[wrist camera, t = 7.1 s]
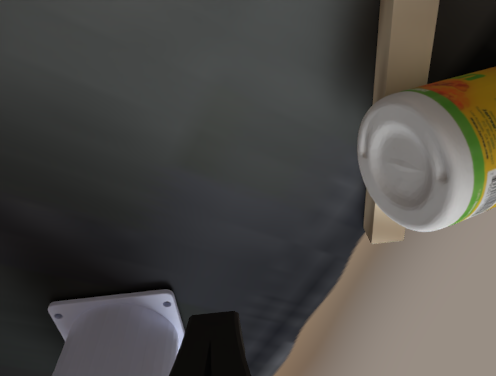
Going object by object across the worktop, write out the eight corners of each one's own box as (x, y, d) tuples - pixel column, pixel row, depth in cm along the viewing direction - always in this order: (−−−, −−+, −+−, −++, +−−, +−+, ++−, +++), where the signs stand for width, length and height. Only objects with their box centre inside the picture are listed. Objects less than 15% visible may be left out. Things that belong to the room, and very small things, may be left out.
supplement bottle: (338, 121, 17) (494, 78, 20) (378, 236, 17) (530, 176, 20) (424, 69, 12) (615, 22, 15) (482, 232, 12) (665, 152, 15)
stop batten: (393, 224, 23) (403, 240, 22) (363, 227, 23) (371, 244, 22) (425, -25, 16) (442, -22, 15) (381, -20, 16) (395, -16, 15)
